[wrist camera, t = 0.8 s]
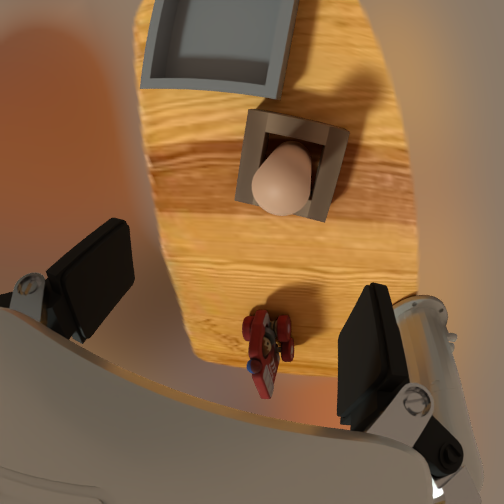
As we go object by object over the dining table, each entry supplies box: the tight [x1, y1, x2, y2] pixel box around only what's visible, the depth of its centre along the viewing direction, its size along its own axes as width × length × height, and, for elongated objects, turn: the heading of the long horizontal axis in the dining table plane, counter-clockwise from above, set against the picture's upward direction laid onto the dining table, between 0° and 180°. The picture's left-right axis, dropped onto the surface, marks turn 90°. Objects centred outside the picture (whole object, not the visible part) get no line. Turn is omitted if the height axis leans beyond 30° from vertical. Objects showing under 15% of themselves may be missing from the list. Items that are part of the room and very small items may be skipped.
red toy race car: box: [242, 310, 294, 399], centre depth 39 cm, size 7×12×10 cm, turn 12°
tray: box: [140, 0, 299, 100], centre depth 21 cm, size 15×15×4 cm
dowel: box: [252, 141, 312, 216], centre depth 24 cm, size 4×4×11 cm
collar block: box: [235, 109, 350, 222], centre depth 27 cm, size 10×10×4 cm
